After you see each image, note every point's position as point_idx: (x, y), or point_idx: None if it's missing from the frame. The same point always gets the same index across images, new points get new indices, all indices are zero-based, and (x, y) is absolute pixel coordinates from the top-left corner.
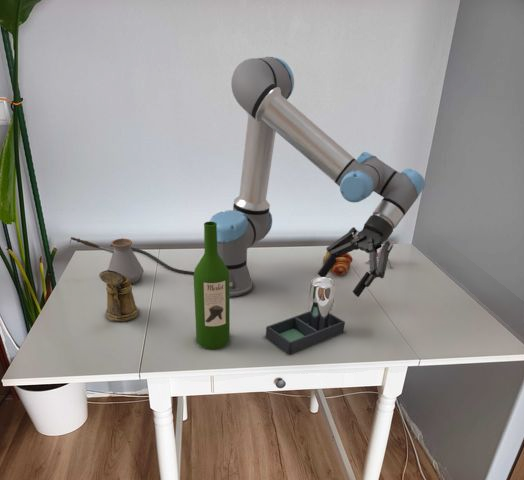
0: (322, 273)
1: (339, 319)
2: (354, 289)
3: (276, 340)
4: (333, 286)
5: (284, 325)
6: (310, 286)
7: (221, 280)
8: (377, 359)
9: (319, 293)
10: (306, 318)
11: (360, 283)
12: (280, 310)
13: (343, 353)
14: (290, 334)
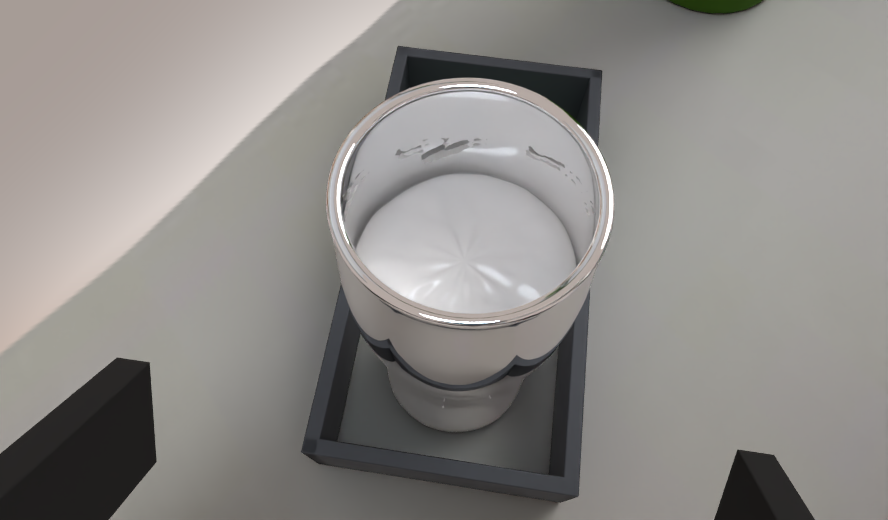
0: (740, 512)
1: (351, 452)
2: (121, 379)
3: None
4: (327, 207)
5: None
6: (550, 135)
7: None
8: (8, 363)
9: (414, 130)
10: (563, 355)
11: (28, 439)
12: (792, 378)
13: (199, 275)
14: None
